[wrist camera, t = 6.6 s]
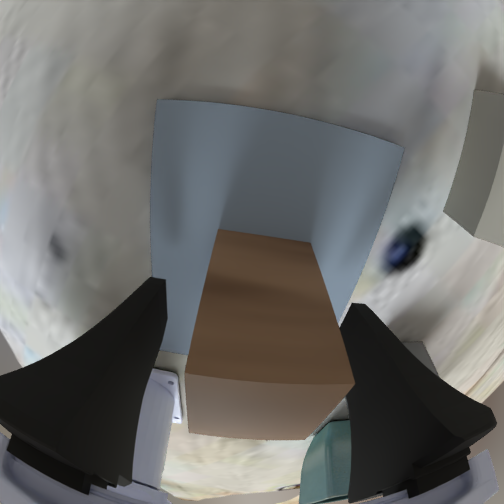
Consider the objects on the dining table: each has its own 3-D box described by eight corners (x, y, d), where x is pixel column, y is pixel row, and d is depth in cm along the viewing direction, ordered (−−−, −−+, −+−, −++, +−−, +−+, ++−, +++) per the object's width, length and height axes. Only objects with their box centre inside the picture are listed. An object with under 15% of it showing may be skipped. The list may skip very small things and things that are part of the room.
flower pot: (358, 436, 27) (368, 495, 19) (293, 442, 26) (297, 507, 18) (393, 405, 22) (412, 477, 15) (318, 413, 22) (328, 498, 14)
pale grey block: (480, 224, 12) (509, 249, 9) (440, 209, 12) (473, 236, 9) (509, 120, 8) (544, 133, 6) (471, 89, 8) (511, 95, 5)
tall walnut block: (288, 310, 14) (304, 439, 8) (210, 300, 13) (188, 432, 7) (310, 242, 12) (355, 383, 6) (218, 229, 11) (184, 372, 5)
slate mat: (312, 360, 17) (314, 367, 16) (161, 343, 16) (159, 350, 16) (398, 145, 10) (404, 147, 9) (161, 99, 9) (157, 99, 9)
